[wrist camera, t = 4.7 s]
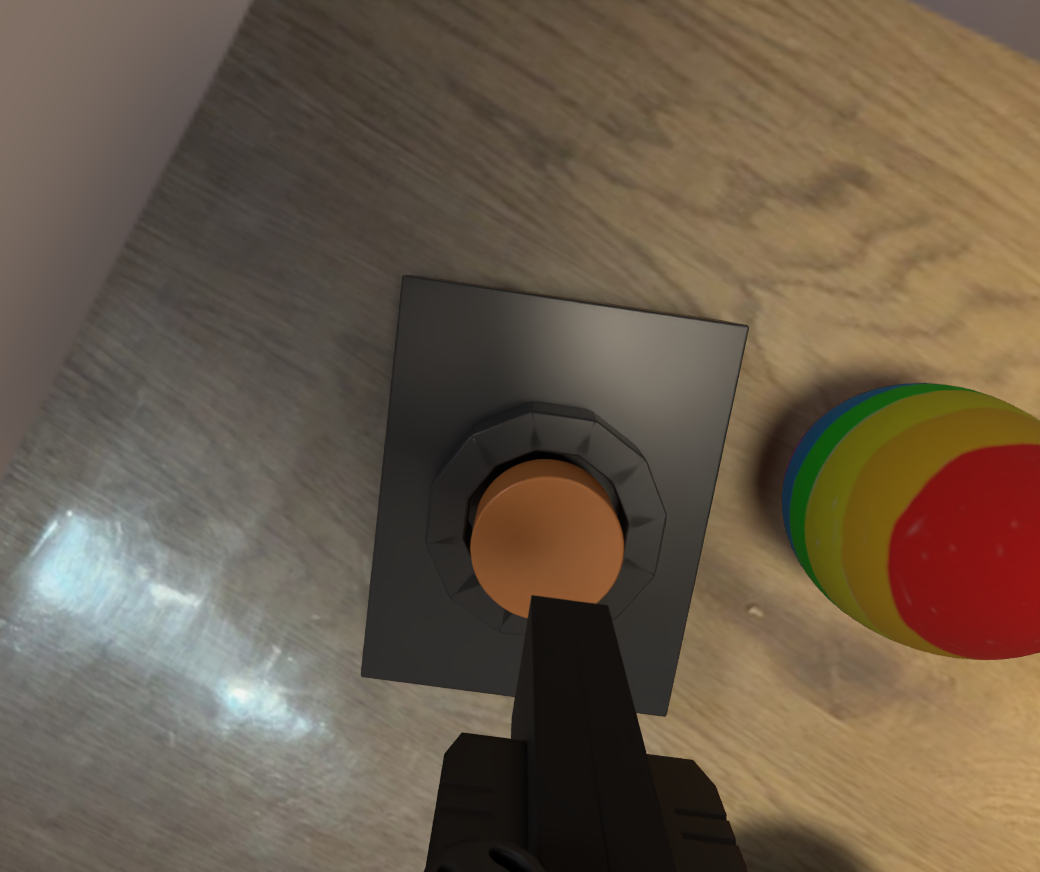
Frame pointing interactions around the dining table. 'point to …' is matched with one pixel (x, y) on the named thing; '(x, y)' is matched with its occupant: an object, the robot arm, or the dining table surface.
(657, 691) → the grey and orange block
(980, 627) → the decorative egg
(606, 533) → the orange button
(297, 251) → the dining table surface
